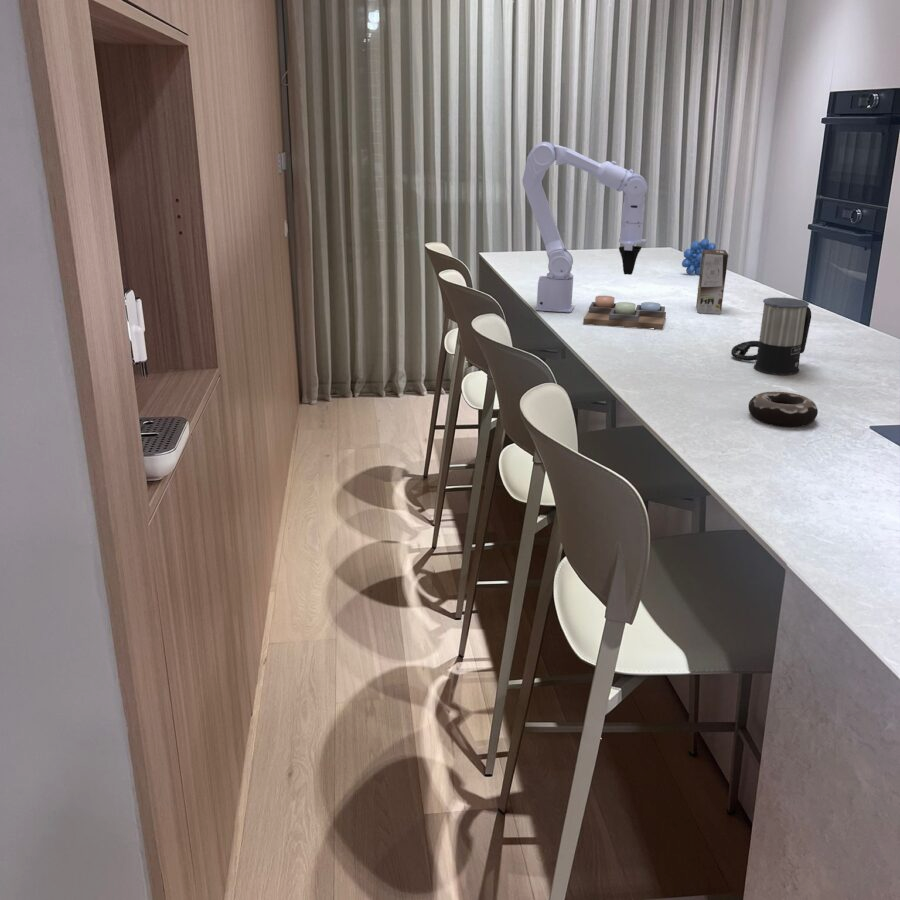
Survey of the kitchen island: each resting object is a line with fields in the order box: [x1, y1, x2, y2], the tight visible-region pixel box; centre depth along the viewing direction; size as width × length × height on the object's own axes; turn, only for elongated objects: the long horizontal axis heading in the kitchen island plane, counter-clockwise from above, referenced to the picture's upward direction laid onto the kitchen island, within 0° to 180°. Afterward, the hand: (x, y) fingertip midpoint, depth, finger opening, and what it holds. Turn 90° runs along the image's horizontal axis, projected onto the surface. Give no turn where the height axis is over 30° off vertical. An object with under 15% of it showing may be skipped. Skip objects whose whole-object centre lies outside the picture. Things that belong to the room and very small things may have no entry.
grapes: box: [681, 238, 717, 276], centre depth 299 cm, size 12×7×12 cm, turn 95°
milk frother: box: [730, 296, 812, 376], centre depth 192 cm, size 14×16×15 cm
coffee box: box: [696, 249, 729, 315], centre depth 244 cm, size 9×6×16 cm
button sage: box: [615, 301, 637, 315], centre depth 229 cm, size 5×5×2 cm
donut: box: [748, 391, 819, 428], centre depth 160 cm, size 12×12×4 cm
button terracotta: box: [594, 295, 615, 308], centre depth 237 cm, size 5×5×2 cm
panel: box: [582, 301, 667, 330], centre depth 233 cm, size 20×15×3 cm
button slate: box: [640, 301, 661, 311], centre depth 234 cm, size 5×5×2 cm
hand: (628, 274), depth 239 cm, fingers closed
